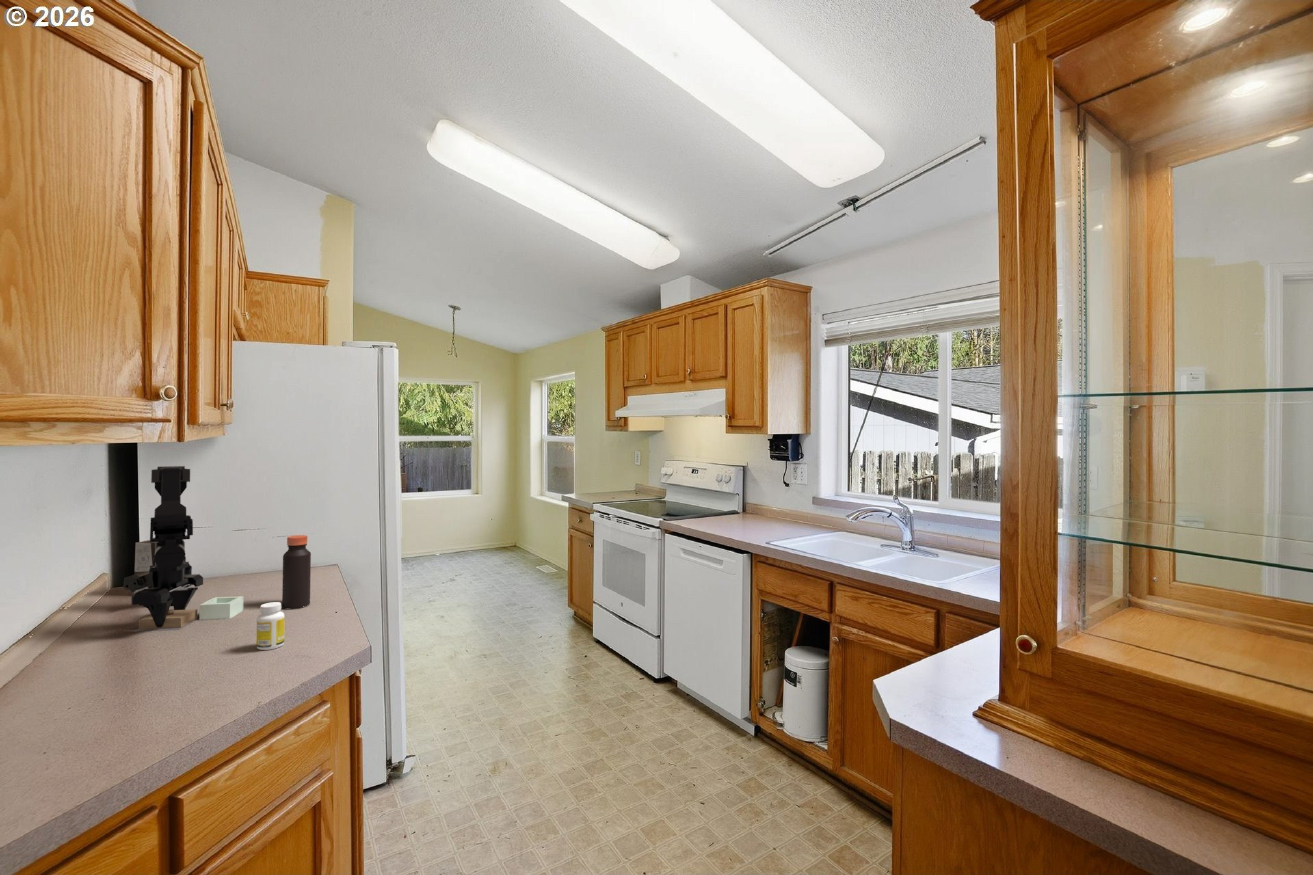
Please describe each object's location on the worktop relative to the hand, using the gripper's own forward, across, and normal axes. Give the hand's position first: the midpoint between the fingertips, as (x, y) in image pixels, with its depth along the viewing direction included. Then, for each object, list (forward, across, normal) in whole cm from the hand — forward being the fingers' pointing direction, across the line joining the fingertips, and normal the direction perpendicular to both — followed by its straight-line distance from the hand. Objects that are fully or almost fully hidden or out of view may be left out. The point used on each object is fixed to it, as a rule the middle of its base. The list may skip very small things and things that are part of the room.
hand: (168, 622), depth 144 cm
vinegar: (+1, -14, +24) cm, 28 cm away
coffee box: (+1, -36, -23) cm, 43 cm away
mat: (+1, 0, 0) cm, 1 cm away
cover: (0, 0, 0) cm, 0 cm away
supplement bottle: (+1, +19, +31) cm, 36 cm away
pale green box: (+1, -6, +9) cm, 11 cm away
